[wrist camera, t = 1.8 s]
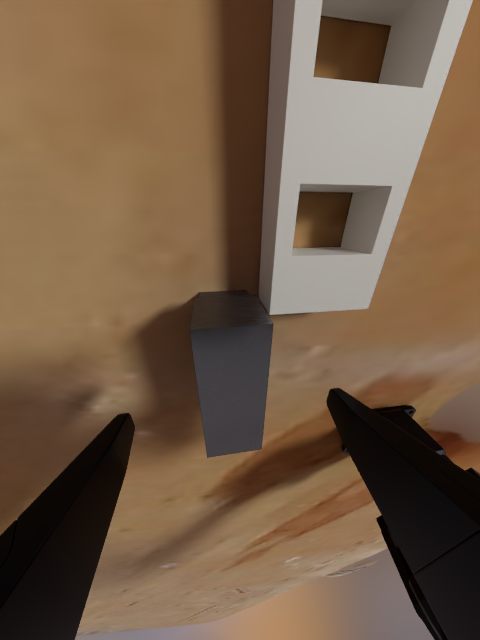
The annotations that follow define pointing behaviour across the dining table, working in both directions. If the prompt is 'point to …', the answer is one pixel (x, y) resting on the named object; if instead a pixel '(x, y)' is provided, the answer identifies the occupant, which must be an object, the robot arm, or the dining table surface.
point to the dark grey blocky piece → (231, 369)
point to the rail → (346, 144)
